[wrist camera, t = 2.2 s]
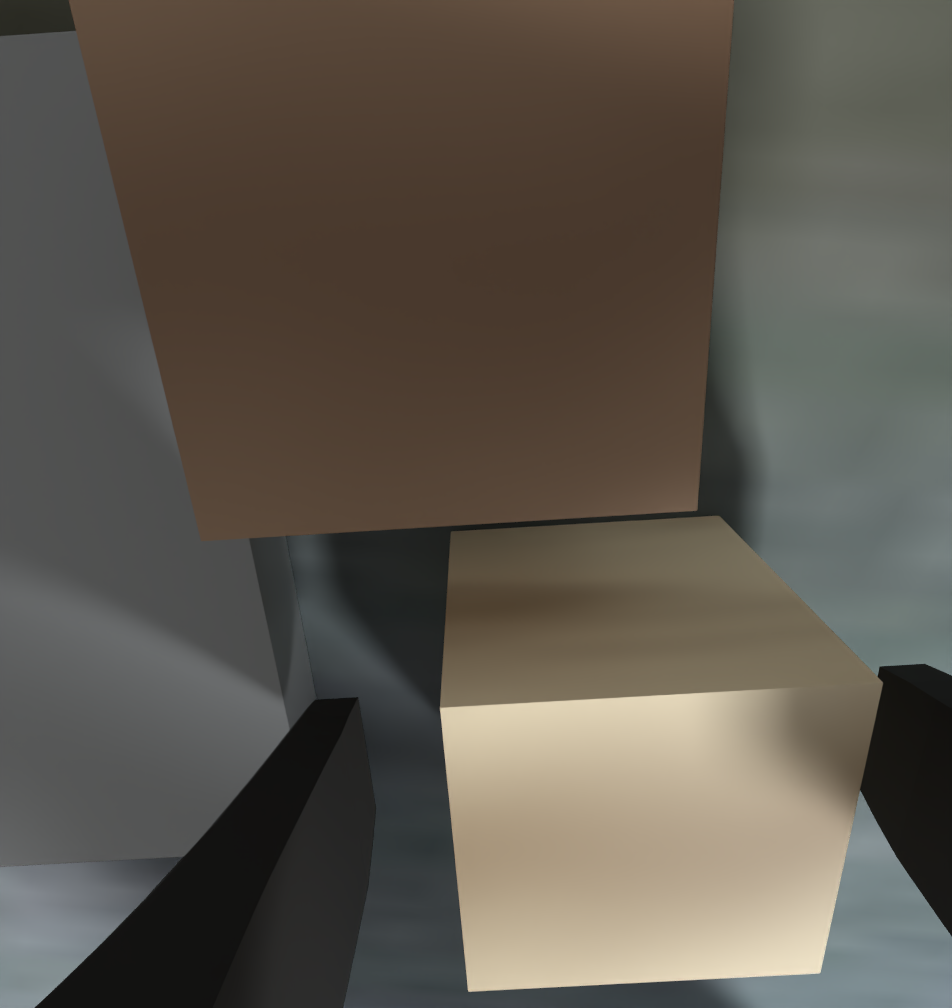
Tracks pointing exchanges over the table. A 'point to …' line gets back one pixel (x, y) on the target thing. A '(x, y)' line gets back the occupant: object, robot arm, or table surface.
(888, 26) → the table surface
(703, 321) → the walnut block
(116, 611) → the plate
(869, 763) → the robot arm
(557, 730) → the maple block
